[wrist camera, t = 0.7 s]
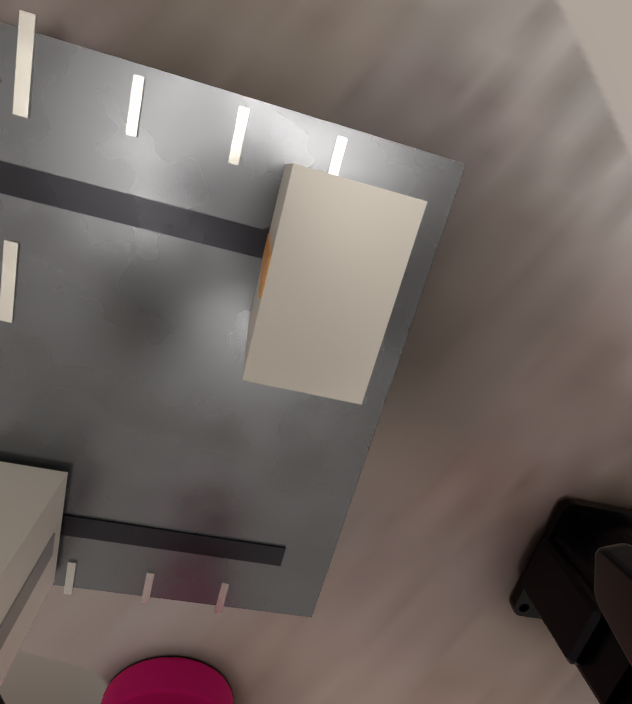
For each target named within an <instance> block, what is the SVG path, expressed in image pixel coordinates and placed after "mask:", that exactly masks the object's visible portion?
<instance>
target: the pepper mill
mask: <svg viewBox="0 0 632 704" xmlns="http://www.w3.org/2000/svg"><path fill="white" fill-rule="evenodd" d="M101 704H233V694H232V691H231V689H230V687H229V685H228V684H227V682H226V680H225V678H224V677H222V676H221V675H220V674H219V673H218V672H217V671H216V670H215V669H213V668H211V667H209V666H207V665H205V664H203V663H201V662H198V661H194V660H191V659H187V658H178V657H160V658H154V659H149V660H145V661H142V662H140V663H137V664H135V665H133V666H130V667H128V668H127V669H125V670H124V671H123V672H121V673H120V674H119V675H117V676H116V677H115V678H114V680H113V681H112V682H111V683H110V684H109V686H108V687H107V689H106V691H105V693H104V696H103V699H102V702H101Z"/></svg>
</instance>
